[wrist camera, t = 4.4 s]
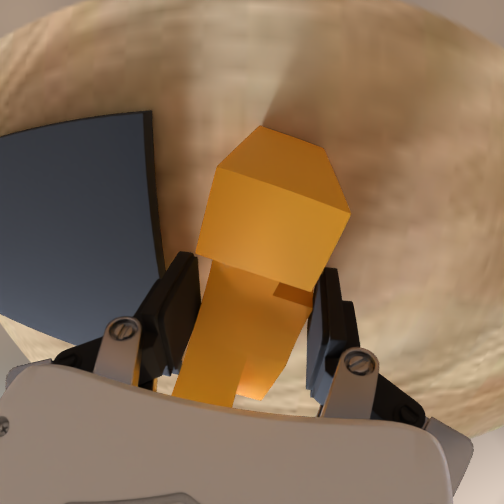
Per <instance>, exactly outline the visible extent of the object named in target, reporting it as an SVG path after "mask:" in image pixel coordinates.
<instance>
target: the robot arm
mask: <svg viewBox="0 0 504 504" xmlns="http://www.w3.org/2000/svg"><path fill="white" fill-rule="evenodd" d="M312 300H313V309H312V312H311V313H310V315H309V317H308V324H307V369H306V389H308V390H311V393H310V397H313V398H314V399H315V400H316V401H317V402H319V403H320V407H319V410H318V412H317V415H316V417H305V416H292V415H282V414H272V413H264V412H256V411H249V410H242V409H236V408H229V407H223V406H218V405H212V404H207V403H202V402H197V401H192V400H188V399H183V398H179V397H174V396H170V395H166V394H162V393H158V392H156V391H157V377H160V376H162V375H166V376H171V374H172V371H173V370H177V369H178V366H179V364H180V361H181V359H182V356H183V354H184V351H185V349H186V346H187V344H188V341H189V339H190V336H191V334H192V331H193V329H194V326H195V323H196V320H197V316H198V313H199V310H200V306H201V295H200V283H199V270H198V258H197V257H195V256H194V255H193V253H190V252H181V251H180V252H179V253H178V254H177V256H176V257H175V259H174V260H173V262H172V263H171V265H170V266H169V268H168V270H167V271H166V273H165V274H164V276H163V277H162V279H157V280H156V281H155V283H154V284H153V286H152V288H151V289H150V291H149V292H148V294H147V295H146V297H145V298H144V300H143V302H142V303H141V305H140V306H139V308H138V309H137V311H136V313H135V314H134V316H133V317H132V316H120V317H117V318H115V319H113V320H112V321H110V322H109V323H108V324H107V326H106V328H105V331H104V335H103V336H102V337H100V338H97V339H94V340H92V341H89V342H86V343H83V344H81V345H78V346H75V347H72V348H69V349H67V350H64V351H62V352H61V353H60V354H58V355H57V357H56V358H55V360H54V361H52V359H51V358H50V359H46V360H42V361H37V362H33V363H29V364H25V365H20V366H17V367H14V368H12V369H11V370H10V371H9V373H8V374H7V377H6V391H5V392H4V394H3V395H2V397H1V398H0V504H453V496H454V494H455V492H456V490H457V488H458V486H459V484H460V482H461V480H462V478H463V476H464V474H465V472H466V469H467V467H468V465H469V463H470V460H471V458H472V455H473V451H474V449H473V444H472V442H471V440H470V439H469V438H468V437H466V436H465V435H463V434H461V433H459V432H458V431H456V430H454V429H452V428H451V427H449V426H447V425H446V424H444V423H442V422H440V421H439V420H437V419H435V418H434V417H431V418H430V419H429V418H428V417H426V416H425V411H424V410H423V408H422V406H421V405H420V404H419V403H418V402H416V401H415V400H414V399H412V398H411V397H410V396H408V395H407V394H406V393H404V392H403V391H402V390H400V389H399V388H398V387H396V386H395V385H394V384H392V383H391V382H390V381H388V380H387V379H386V378H385V377H383V376H382V375H381V374H379V361H378V359H377V357H376V356H375V355H374V354H373V353H372V352H371V351H369V350H367V349H364V348H360V341H359V335H358V328H357V322H356V317H355V311H354V305H353V302H352V301H342V296H341V290H340V283H339V277H338V271H337V269H336V268H327V267H324V269H323V271H322V273H321V275H320V277H319V279H318V281H317V283H316V284H315V288H314V293H313V298H312Z"/></svg>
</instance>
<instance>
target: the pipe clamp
mask: <svg viewBox="0 0 504 504" xmlns="http://www.w3.org/2000/svg"><path fill="white" fill-rule="evenodd" d="M350 216H351V212H350V209H349V207H348V204H347V202H346V199H345V197H344V194H343V192H342V190H341V187H340V185H339V182H338V180H337V178H336V175H335V173H334V171H333V168H332V166H331V164H330V161H329V159H328V157H327V155H326V153H325V150H324V148H322V147H319V146H317V145H314V144H311V143H309V142H306V141H303V140H300V139H298V138H295V137H292V136H289V135H286V134H283V133H280V132H277V131H274V130H271V129H268V128H265V127H262V126H259V127H258V128H257V129H255V130H254V131H253V132H252V133H251V134H250V135H249V136H248V137H247V138H246V139H245V140H244V141H243V142H242V143H241V144H240V145H238V146H237V147H236V148H235V149H234V150H233V151H232V152H231V153H230V154H229V155H228V156H227V157H226V158H225V159H224V160H223V161H222V162H221V163H220V164H219V165H218V166H217V168H216V172H215V175H214V179H213V183H212V187H211V191H210V194H209V198H208V202H207V206H206V210H205V214H204V218H203V222H202V227H201V231H200V235H199V239H198V243H197V248H196V252H195V254H198V255H201V256H204V257H207V258H210V259H213V261H212V265H211V269H210V273H209V277H208V281H207V285H206V289H205V292H204V296H203V299H202V303H201V306H200V310H199V313H198V316H197V320H196V323H195V326H194V329H193V333H192V336H191V339H190V342H189V345H188V348H187V351H186V354H185V357H184V360H183V363H182V366H181V369H180V372H179V375H178V378H177V381H176V384H175V387H174V390H173V393H172V395H171V396H174V397H179V398H183V399H188V400H192V401H197V402H202V403H207V404H212V405H218V406H223V407H229V408H232V405H233V402H234V398H235V395H236V394H238V395H241V396H245V397H249V398H253V399H256V400H260V401H261V400H262V399H263V398H264V396H265V395H266V393H267V392H268V391H269V389H270V388H271V386H272V385H273V383H274V382H275V381H276V379H277V378H278V376H279V375H280V373H281V372H282V371H283V369H284V368H285V366H286V364H287V361H288V359H289V356H290V354H291V351H292V349H293V347H294V344H295V342H296V340H297V338H298V336H299V334H300V332H301V330H302V328H303V326H304V324H305V322H306V320H307V319H308V317H309V315H310V313H311V312H312V309H313V300H312V298H313V288H314V286H315V284H316V283H317V281H318V279H319V277H320V275H321V273H322V271H323V269H324V267H325V266H326V264H327V262H328V260H329V258H330V256H331V254H332V252H333V250H334V248H335V246H336V244H337V242H338V240H339V238H340V236H341V234H342V232H343V230H344V228H345V226H346V224H347V222H348V220H349V218H350Z"/></svg>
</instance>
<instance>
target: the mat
mask: <svg viewBox="0 0 504 504" xmlns="http://www.w3.org/2000/svg"><path fill="white" fill-rule="evenodd" d="M165 273H166V271H165V264H164V257H163V249H162V241H161V233H160V224H159V214H158V204H157V193H156V181H155V167H154V151H153V130H152V111H151V110H150V111H138V112H127V113H118V114H110V115H102V116H95V117H88V118H82V119H76V120H70V121H64V122H59V123H54V124H49V125H44V126H40V127H36V128H31V129H27V130H23V131H19V132H15V133H12V134H8V135H4V136H1V137H0V314H1V315H3V316H6V317H8V318H10V319H12V320H14V321H16V322H19V323H21V324H23V325H25V326H28V327H30V328H32V329H35V330H37V331H40V332H42V333H44V334H47V335H49V336H52V337H55V338H57V339H60V340H62V341H65V342H68V343H71V344H73V345H76V346H78V345H81V344H83V343H86V342H89V341H92V340H94V339H97V338H100V337H102V336H103V335H104V331H105V328H106V326H107V324H108V323H109V322H110V321H112V320H113V319H115V318H117V317H120V316H132V317H133V316H134V314H135V313H136V311H137V309H138V308H139V306H140V305H141V303H142V302H143V300H144V298H145V297H146V295H147V294H148V292H149V291H150V289H151V288H152V286H153V284H154V283H155V281H156V280H157V279H162V277H163V276H164V274H165ZM181 366H182V360H181V361H180V364H179V366H178V369H177V370H173V371H172V373H173V374H178V375H179V372H180V369H181Z"/></svg>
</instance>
